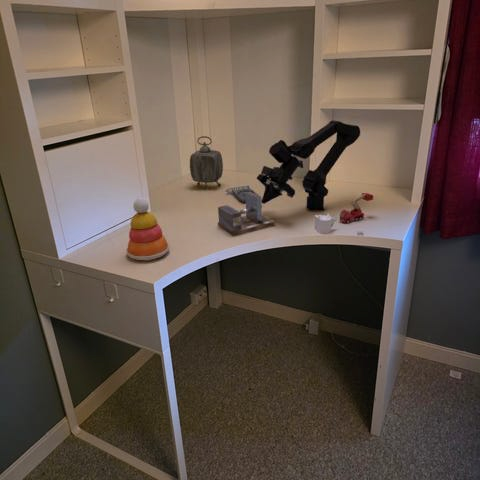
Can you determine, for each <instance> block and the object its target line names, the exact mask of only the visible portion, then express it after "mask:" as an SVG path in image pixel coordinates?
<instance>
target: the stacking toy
mask: <svg viewBox="0 0 480 480" xmlns="http://www.w3.org/2000/svg"><path fill="white" fill-rule="evenodd" d="M132 205H133V210H134V211H135V212H136V213H135V214H134V215H133V216H132V217H131V219H130V229H129V233H128V238H129V240H128V244H127V248H126V250H125V253H126V254H127V256H128V257H129V258H131V259H133V260H138V261H151V260H155V259H158V258H161V257H163V256H164V255H166V254H167V253H168V252H169V250H170V248H171V245H170V244H169V243H168V241H167V239H166V236H164V235H163V230H162V227H161V226H160V225H159V224H158V220H157V218H156V216H155V215H154V214H153V213H152V212H150V211H148V210H149V203H148V201H147V199H146V198H144V197H137V198H136V199H135V200H134V202H133V204H132Z"/></svg>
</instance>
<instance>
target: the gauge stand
mask: <svg viewBox="0 0 480 480" xmlns="http://www.w3.org/2000/svg"><path fill="white" fill-rule="evenodd" d="M217 209H218V210H217V212H218V222H217V227H219V228H220V229H222V230H223V231H225V232H226V233H228V234H230V235H231V236H232V237H236V236H237V237H238V236H241V235H244V234H247V233H251V232H255V231H258V230H263V229H267V228H271V227H275V223H276V222H275V220H272V219H271V218H268V217H266V216H264V215H262V222H263V224H261V223H256V222H254V221H252V220H251V219H249V218H247V217H246V215H242V214H241V212H240V210H238V209H236V208H233V207H231V206H230V205H228V204H226V205H220V206H218V207H217Z"/></svg>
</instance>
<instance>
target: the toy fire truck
mask: <svg viewBox="0 0 480 480" xmlns="http://www.w3.org/2000/svg"><path fill="white" fill-rule="evenodd" d="M360 200H364V201H366V202H369V201H373V200H374V195H373V194H371V193H368V192H362V193H361V196H358V197H357V198H355V199H352V200H351V202H350V205H351V206H352V207H353V209H351V210H350V211H348V210H346V209H343V210H341V212H340V214H339V222H341V223H342V224H349V223H350V222H354V221H355V222H358V221H362V219H364V217H365V213H364V212H362V211H363V210H362V209H361V207H360V204H359V203H358V202H359V201H360Z"/></svg>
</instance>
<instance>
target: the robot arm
mask: <svg viewBox="0 0 480 480" xmlns="http://www.w3.org/2000/svg"><path fill="white" fill-rule="evenodd" d="M335 134H336V136H335V137H336V138H335V141H334V143H333V144H332V146H331V148H329V150H328V152H327V153H326V155H325V156H324V158H322V161H321V162H320V163H319V165H318V166H317V167H316V169H314V170H312V169H309V170H308V171H307V173H306V174H305V176H303V180H302V188H303V189H304V192H305V193H306V194H307V196H306V205H305V206H306V208H307V211H325V208H324V206H325V205H324V204H325V203H324V202H325V198H326V196H328V194H329V189H328V188H327V187H326V186H325V185H326V183H327V176H328V175H329V173H330V172H331V170H332V168H333V167H334V166H335V164H336V163H337V161H338V160H339V159H340V157H341V156H342V154H343V152H344V151H345V150H346V148H347V147H349V146H351V145H353V144H354V143H355V142H356V141H357V140H358V139H359V138H360V136H361V128H360V127H359V126H358V125H356V124H350V123H344V122H342V121H340V120H333V119H332V120H330V121H328V123H327V124H325V125H324V126H323V127H321V128H320V129H318V130H317V131H316V132H314V133H313V134H311V135H309V136H308V137H306V138H301V139H299V140H297V141H294V142H293V143H292V144H291V145H288V144H287V143H286V142H285V141H284V140H282V139H279V141H278V142H275V143H274V144H273V145H271V146H270V148H269V151H268V153H269V155H271V156H272V158H273V159H275V160H276V161H277V162H278V164H280V165H279V167H278V166H274V167H273V168H271V167H269V166H266V165H263V167H262V170H261V172H260V174H258V175H257V177H256V179H257V180H258V181H259V182H260V183H261V184H262V185H263V186H264V191H263V196H262V197H261V204H263V205H265V204H267V203H269V202H270V201H272V200H274V199H276V198H278V197H280V196H281V197H282V196H283V192H286V196H287V197H289V198H291V199H292V198H294V196H295V195H296V190H295V189H294V188H293V187H292V186H291V185H290V184H289V183H288V182H289V180H290V181H292V180H293V177H292V176H293V175H294V173H295V172H296V170H297V169H298V168H299V169H300V168H301V169H304V164H303V160H305V159H308V158H309V157H311V156H312V155H313V153H315V150H316V148H317V147H318V146H320V145H321V144H322V143H325V141H327V140H328V139H330V138H331V137H333V136H334V135H335ZM298 158H300V159H298ZM301 159H303V160H301Z"/></svg>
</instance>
